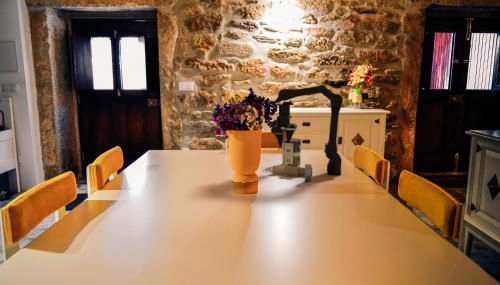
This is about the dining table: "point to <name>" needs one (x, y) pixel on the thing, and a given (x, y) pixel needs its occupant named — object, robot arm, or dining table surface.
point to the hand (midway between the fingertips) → (284, 144)
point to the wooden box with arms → (290, 170)
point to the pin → (308, 172)
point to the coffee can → (291, 151)
